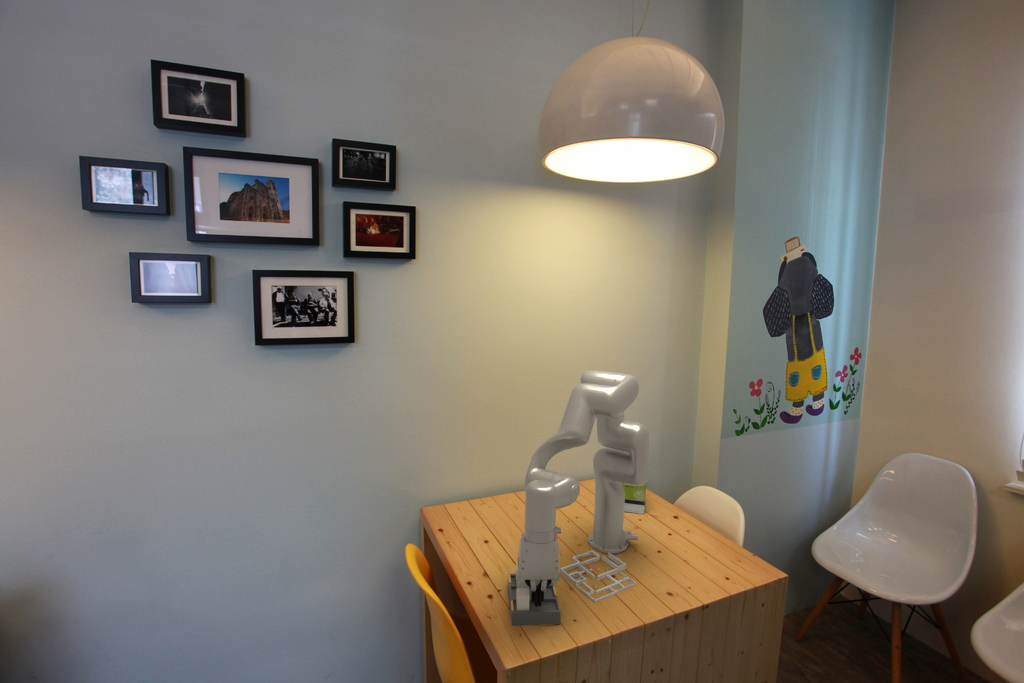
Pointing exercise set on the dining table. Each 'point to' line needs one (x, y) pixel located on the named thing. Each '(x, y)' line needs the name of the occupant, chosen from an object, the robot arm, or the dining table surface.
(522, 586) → the white block
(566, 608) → the dining table surface
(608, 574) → the floor plan model
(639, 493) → the tea box
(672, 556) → the dining table surface
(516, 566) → the white rectangular block
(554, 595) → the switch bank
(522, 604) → the tab
